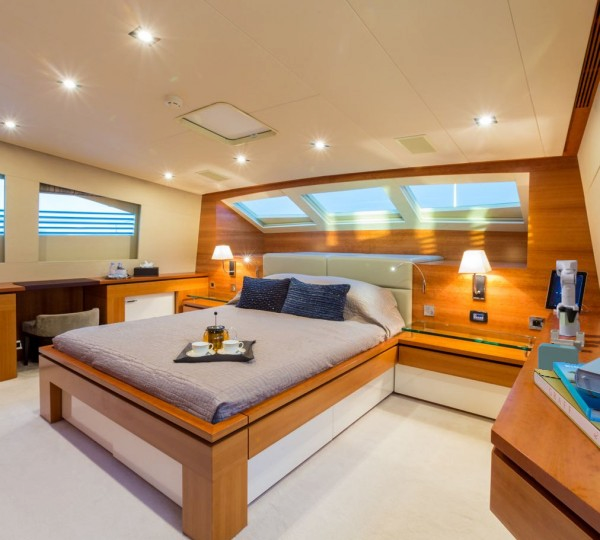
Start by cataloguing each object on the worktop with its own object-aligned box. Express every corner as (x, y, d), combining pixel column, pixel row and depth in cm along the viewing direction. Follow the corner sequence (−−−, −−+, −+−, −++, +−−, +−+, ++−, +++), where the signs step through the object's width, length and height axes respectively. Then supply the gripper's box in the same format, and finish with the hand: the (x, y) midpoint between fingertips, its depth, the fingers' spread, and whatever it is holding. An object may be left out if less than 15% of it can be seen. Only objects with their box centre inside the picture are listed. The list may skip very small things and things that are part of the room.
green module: (560, 324, 192) (560, 311, 192) (571, 324, 191) (571, 311, 191) (564, 325, 188) (564, 313, 188) (576, 325, 187) (576, 313, 187)
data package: (578, 379, 131) (578, 346, 131) (577, 382, 128) (577, 349, 127) (539, 372, 139) (539, 342, 139) (537, 375, 136) (537, 344, 135)
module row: (552, 339, 191) (552, 328, 191) (584, 343, 183) (584, 331, 183) (550, 343, 184) (550, 331, 184) (583, 347, 175) (583, 334, 175)
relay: (573, 348, 173) (573, 340, 172) (581, 349, 171) (581, 340, 170) (573, 351, 169) (573, 342, 169) (581, 352, 167) (581, 343, 167)
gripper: (552, 295, 197) (552, 319, 197) (567, 298, 183) (567, 324, 183) (566, 295, 196) (566, 319, 196) (583, 298, 182) (583, 324, 182)
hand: (568, 321), depth 190 cm, fingers closed on green module, 4 cm apart
